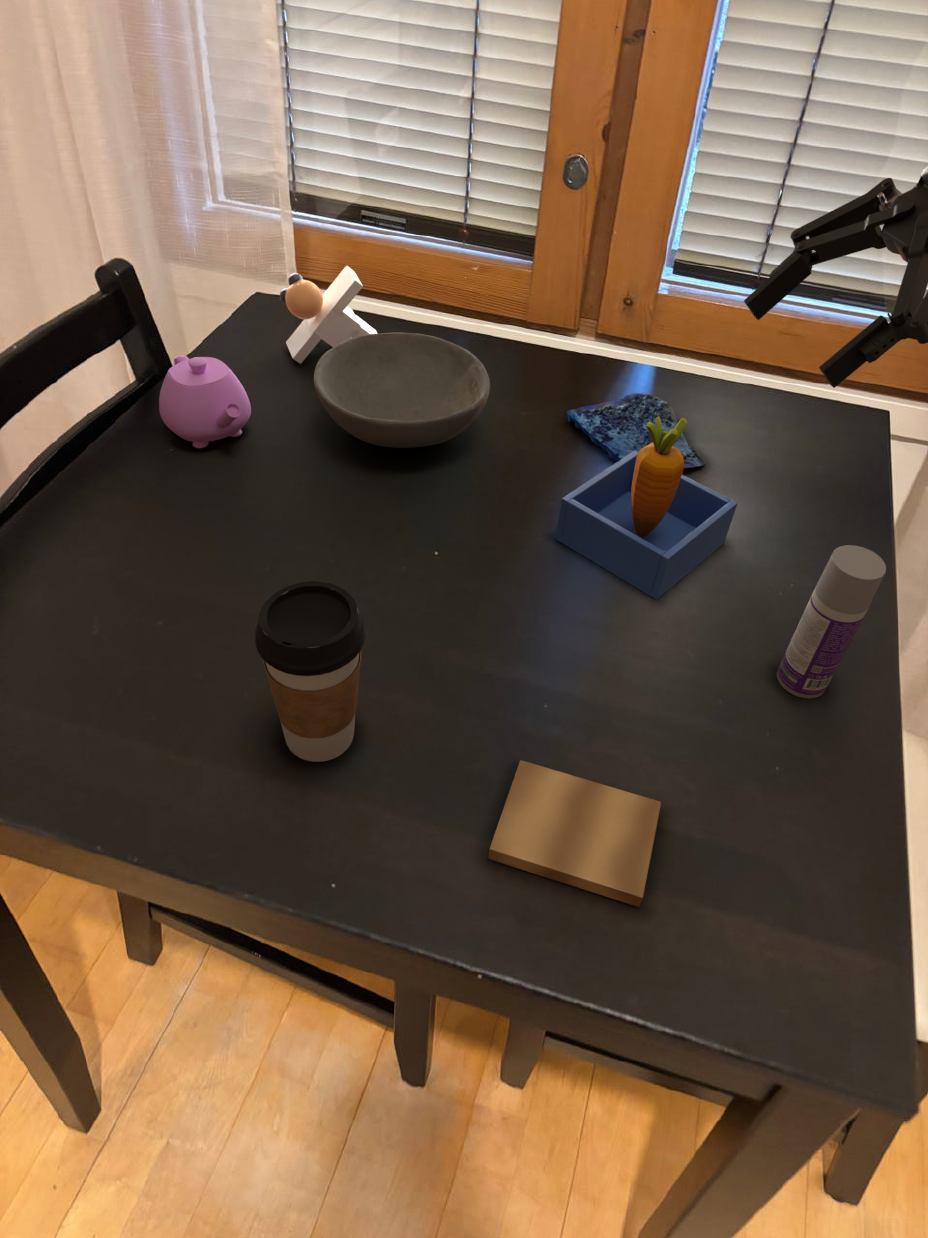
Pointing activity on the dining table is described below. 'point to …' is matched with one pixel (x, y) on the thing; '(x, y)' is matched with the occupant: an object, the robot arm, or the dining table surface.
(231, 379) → the teapot
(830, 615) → the container
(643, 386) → the dining table surface
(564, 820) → the board
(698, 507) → the bin
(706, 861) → the dining table surface
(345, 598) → the coffee cup
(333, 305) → the figurine
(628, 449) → the blue flat piece
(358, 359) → the bowl
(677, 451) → the carrot
